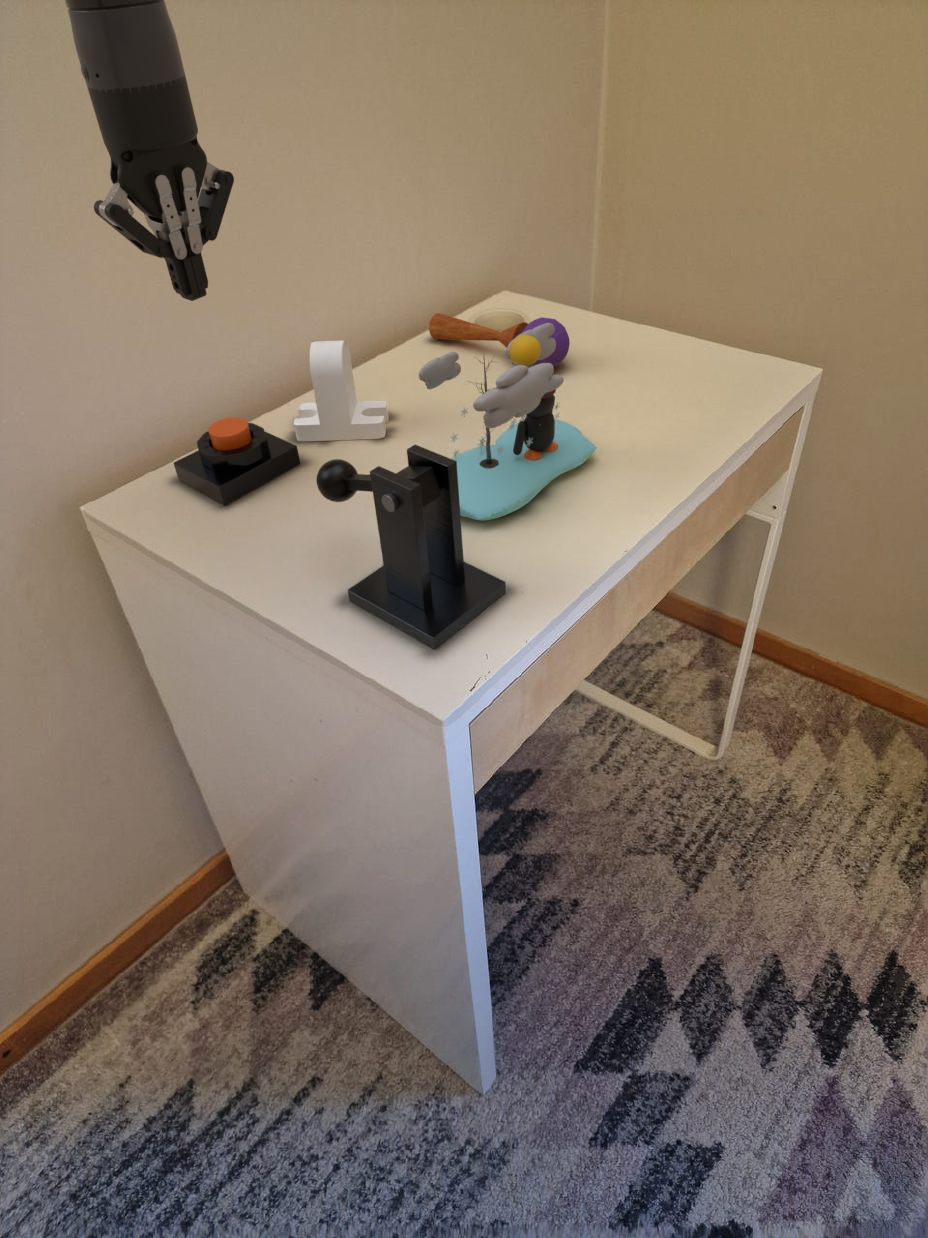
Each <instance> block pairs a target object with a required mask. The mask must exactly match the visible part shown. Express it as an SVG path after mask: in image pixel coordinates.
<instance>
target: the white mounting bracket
mask: <svg viewBox="0 0 928 1238" xmlns="http://www.w3.org/2000/svg"><path fill="white" fill-rule="evenodd" d="M350 351H351V350H350V348H349V344H348V341H347V340H346V339H343V340H342V339H341V340H319V341H312V342H311V343H310V347H309V370H310V371H309V372H310V378H311V384H312V389H313V393H314V400H315V402H304V403H301V404H300V405H299V407H298V415H299V417H297V418H294V421H293V428H294V432H295V437H296V440H297V442H327V441H353V440H354V441H357V440H381V439H383V438H385V437H386V434H387V426H386V424H388V423H389V420H390V417H389V408H388V402H387V401H385V400H366V401H363V400H362V401H358V398H357V397H358V396H357V392H356V391H357V390H356V385H355V377H354V372H353V366H352V365H353V364H352V358H351V352H350Z"/></svg>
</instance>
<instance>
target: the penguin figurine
mask: <svg viewBox="0 0 928 1238" xmlns="http://www.w3.org/2000/svg"><path fill="white" fill-rule="evenodd" d="M554 330H555V329H554V326H553V324H551V323H545V324H542V325H540V326H537V327H535V328H533V329H532V330H531V329H530V330H527V331H525V332H523V333H521V334H520V335H518V336H517V337H516V338H514V339H513V340H512V341H511V342H510V343H509V345H508V347H507V348H506V349H505V356H506V359H508V360H510V361H511V362H512V365H513V366H511V367H510V368H508V369H507V370H506V371H504V372H503V373H502V374H500V376H498V377H497V378H496V380H495V387H492V386H493V385H491V387H490V388H489V389H488V381H487V380H488V379H487V371H490V370H491V368H489V367H490V365H491V363H492V362H493V360H491V361H489V362H488V363H487V366H486V362H485V361H486V359H485V353H483V362H481V360H479V363H482V364H483V373H484V374H483V376H484V383H478V381H477V379H475V380H476V382H475V386H476V388H477V391H480V394H481V395H479V396H477V398H476V399H475V400H474V401H473V403H472V407H473V409H474V410H475V412H485V413H484V414H483V417H482V419H483V428H485V433H484V435H485V436H484V437H481V439H478V441H479V443H478V445H479V446H477V447H473V448H472V449H468V450H466V451H463V452H461V453H459V451H460V449H457V448H455V449H454V450H455V451H454V452H453V455H452V458H451V459H452V460H455V461H456V462H457V474H458V488H459V503H460V517H464V518H468V519H472V520H477V521H491V520H494V519H498V518H502V517H503V516H507V515H509V514H512V513H513V512H516V511H518V510H520V509H521V508H523V507H524V506H525V505H527V504H528V503H529V502H531V501H532V500H533V499H534V498H535V497H536V496H537V495H538V494H539V493H540V492H541V491H542V490H544V488H545V487H546V486H548V484H550V483H551V482H552V481H553V480H554V479H556V478H557V477H559V476H561V475H562V474H564V473H566V472H569V471H572V470H573V469H576V468H577V467H580V466H581V465H582V464H584V463H586V462H587V460H588V459H589V458H590V457H591V456H592V455H593V454H594V453H595V452H596V450H597V446H596V445H595V444H594V443H593V442H591V441H590V440H589V439H588V438H587V437H585V435H583V432H581V430H580V429H578V427H576V426H574V425H573V424H571V423H569V422H566V421H563V420H559V419H558V418H560V417H561V416H560V412H558V411H557V410H558V409H557V408H560V402H558V401H557V402H556V396H555V395H554V394H555V393H556V391H557V389H559V388H560V387H561V386H562V385H563V383H564V381H565V379H564V377H563V376H561V375H558V374H554V368H555V367H553V365H552V364H551V363H541V364H537V365H535V366H531V365H533V364H534V363H535V362H536V361H537V360H542V359H544V358H546V357H548V356H550V355H551V354H552V353H553V352H554V351H555V348H556V341H555V339H554V338H552V337H550V336H551V335H552V334H553V333H554ZM494 357H495V355H493V357H492V358H494ZM459 358H460V356H459V354H458V353H457V352H456V351H451V352H447V353H445V354H443V355H441V356H438V357H435V358H433V359H430V360H429V361H427V362H426V363H425V364H424V365H422V366H421V368H420V370H419V371H418V378H419V381H422V382H423V383H424V385H425V387H426V389H427V390H433V389H435V388H438V387H440V386H441V385H442V384H443V383H445V382H447V381H451V380H453V379H455V378H456V377H458V376H459V375H460V374H461V372H462V367H461V364H460V363H458V362H457V361H458V360H459ZM474 359H477V356H474ZM495 363H499V361H495ZM467 382H469V383H470V384H474V382H473V381H469V380H467ZM469 383H468V384H465V385H469ZM478 385H479V386H480V388H479V386H478ZM483 385H484V386H483ZM483 387H484V389H483ZM555 402H556V404H555ZM468 409H469V408H468V407H465V406H463V409H462V410H460V413H461V415H460V417H462V416H466V414H468ZM554 410H555V411H556V414H555V415H554V414H553V411H554ZM517 418H520V419H519V422H517ZM512 419H513V420H512ZM508 422H511V423H510V425H509V426H508V428H507V429H506V430H505V431H503V432H502V433H501V434H500V435H499V436H498V437H497V438H496V440H495V444H491V433H493V430H491V429H496V428H498V427H499V428H500V427H501V426H503V425H505V424H506V423H508ZM450 439H451V442H453V444H454V443H455V441H456V440H458V434H455V433H454V432H453V434H452V436H450Z"/></svg>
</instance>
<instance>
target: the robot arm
mask: <svg viewBox="0 0 928 1238" xmlns="http://www.w3.org/2000/svg"><path fill="white" fill-rule="evenodd" d="M64 3H65V5H66V8H68V9H67V13H68V15H69V16H68V17H69V20H70V26H71V32H72V38H73V42H74V47H75V51H76V55H77V58H78V60H79V61H78V62H79V64H80V72H81V75H82V77H83V79H84V81H85V84H86V87H87V92H88V94H89V97H90V101H91V105H92V108H93V112H94V114H95V118H96V121H97V125H98V127H99V131H100V135H101V138H102V140H103V141H102V142H103V144H104V147H105V148H106V150H107V152H108V156H109V157H110V169H109V170H110V171H109V177H110V180H111V183H112V186H111V188H110V189H109V191H108V192H107V195H106V196H105V198H104V200H102V199H98V200H96V201H95V202H94V204H93V211H94V213H95V214H96V215H97V216H98V217H99V218H101V219H102V220H103V221H104V222H105V223H107V224H108V225H109V226H110V227H111V228H113V229H114V230H115V231H117V232H118V233H119V234H120V235H121V236H123V237H124V238H125V239H126V240H127V241H128V242H129V243H131V244H132V245H133V246H135V247H136V248H137V249H138V250H140V251H141V253H144V254H146V255H147V254H148V255H150V256H154V257H157V258H160V259H164V261H165V263H166V267H167V272H168V274H169V277H170V281H171V285H172V289H173V290H174V292H175V293H176V294H178V295H180V296H181V298H183V299H184V300H188V301H189V302H190V301H191V302H194V301H196V300H199V299H201V298H204V297H206V296H207V290H206V289H208V288H209V280H208V276H207V272H206V271H207V270H206V268H205V263H204V259H203V256H202V251H203V249H204V246H205V245H206V244H207V243H208V242H209V241H211V242H213V241H215V240H216V239H217V238H218V235H219V231H220V228H221V226H222V221H223V218H224V215H225V211H226V209H227V205H228V203H229V199H230V195H231V192H232V189H233V185H234V184H235V183H234V182H235V177H234V174H233V173H232V172H231V171H228V170H224V169H221V168H218V167H216V166H215V165H213V164H212V163H210V162H208V157H207V154H206V152H205V150H204V149H203V148H202V146H201V145H200V143H199V140H198V134H199V128H198V127H199V126H198V122H197V119H196V114H195V111H194V106H193V102H192V98H191V93H190V89H189V85H188V81H187V77H186V76H187V75H186V73H185V68H184V64H183V60H182V56H181V55H182V54H181V50H180V46H179V43H178V38H177V34H176V32H175V28H174V26H173V23H172V20H171V17H170V14H169V12H168V9H167V6H166V1H165V0H64ZM129 201H130V202H131V203H132V204H133V205H134V206H135V207H136V208H137V209H138V210H139V211H140V212H142V213H143V215H144V218H145V221H146V224H147V226H148V227H149V228H150V229H151V230H152V232H153V233H152V232H151V231H150V230H149V229H148V228H146V227H145V225H143V224H142V223H141V222H140V221H138V220H137V219H136V218H135V217H134V209H133V207H132V205H131V204H130V203H129Z"/></svg>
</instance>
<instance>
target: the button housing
mask: <svg viewBox="0 0 928 1238" xmlns="http://www.w3.org/2000/svg"><path fill="white" fill-rule="evenodd" d="M248 425H249V429H250V433H251V438H252V439H251V442H250V443H249V444H247V445H245V446H243V447H241V448H237V449H232V450H216V449H215V448H214V447H213V445H212V442H211V438H210V435H209V431H205V432H204V433H203V434H202V435H201V436H200V437H199V438H198V440H197V441H196V446H197V450H195V451H194V452H192V453H190V454H188V455H186V456H184V457H182V458H180V459H178V460H176V461H174V462H172V464H173V466H174V469H175V473H176V475H177V476H176V477H177V479H178V481H179V482H180V483H182V484H184V485H186V486H188V487H190V489H191V488H192V489H193V490H195V491H197V492H199V493H201V494H202V495H204V496H206V497H207V498H210V499H212V500H213V501H215V502H217V503H218V504H220V505H222V506H224V507H225V506H227V505H229V504H230V503H233V502H234V501H236V500H238V499H240V498H241V497H243V496H245V495H247V494H249V493H251V492H252V491H254V490H256V489H258V488H259V487H262V486H264V485H265V484H267V483H269V482H270V481H273V480H274V479H276V478H278V477H279V476H281V475H283V474H285V473H287V472H288V471H290V470H293V469H294V468H295V467H298V466H299V465H301V460H300V454H299V450H298V446H297V445H296V444H294V443H291V442H290V441H287V440H285V439H283V438H281V437H278V436H277V435H274V434H271V433H269V432H267V431H266V430H265V429H264V427H262V426H260V425H258V424H256V423H254V422H248Z"/></svg>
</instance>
